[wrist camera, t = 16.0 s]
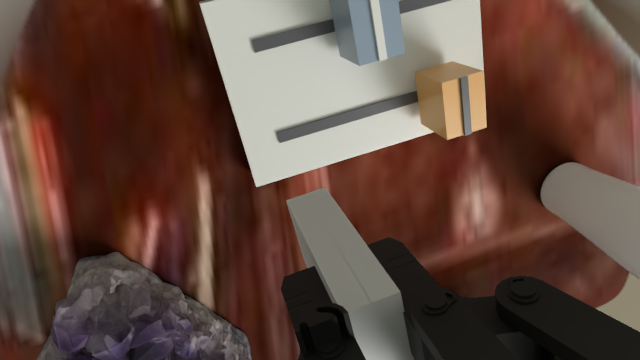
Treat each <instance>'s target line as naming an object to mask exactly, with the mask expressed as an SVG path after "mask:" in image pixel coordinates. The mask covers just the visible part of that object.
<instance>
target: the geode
mask: <svg viewBox="0 0 640 360" xmlns="http://www.w3.org/2000/svg"><path fill="white" fill-rule="evenodd" d="M37 360H252V357H251V353H250V346H249V343H248V339H247V336H246V334H245V333H244V332H242V331H241V330H239V329H237V328H235V327H234V326H233V325H232V324H231V323H229V322H227V321H226V320H224V319H223V318H221V317H219V316H218V315H216V314H214V313H213V312H211V311H210V310H208V309H207V308H206V307H205V305H204V304H201V303H199V302H197V301H196V300H194V299H192V298H191V297H189V296H186V295H183V293H182V290H181V289H180V288H179V287H177V286H174V285H171V284H168V283H165V282H162V280H161V279H160V278H159V277H158V276H157V275H155V274H154V273H152V272H151V271H149V270H148V269H146V268H144V267H143V266H141V265H139V264H138V263H135V262H132V261H129V260H128V259H127V258H125V257H124V256H123V255H121V254H120V253H119V252H112V253H109V254H107V255H94V256H87V257H84V258H82V259H80V260H79V261H78V263H77V265H76V267H75V271H74V274H73V277H72V279H71V285H70V287H69V289H68V293H67V298H65V299H62V300H59V301H57V303H56V306H55V315H54V316H53V321H52V326H51V331H50V335H49V337H48V338H47V340H46V341H45V343H44V345H43V348H42V350H41V352H40V354H39V356H38V358H37Z"/></svg>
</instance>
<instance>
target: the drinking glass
mask: <svg viewBox="0 0 640 360" xmlns="http://www.w3.org/2000/svg"><path fill="white" fill-rule="evenodd" d="M540 195H541V201H542V203H543V205H544V206H545V208H546V209H548V210H549V211H550V212H552V213H553V214H555V215H556V216H558V217H560V218H561V219H562V220H563V221H565V222H566V223H567V224H569V225H570V226H571V227H573V228H574V229H575V230H576V231H578V232H579V233H580V234H581V235H583V236H584V237H585V238H587V239H588V240H589V241H590V242H592V243H593V244H594V245H595V246H597V247H598V248H599V249H600V250H602V251H603V252H604V253H605V254H607V255H608V256H609V257H610V258H612V259H613V260H614V261H615V262H617V263H618V264H619V265H621V266H622V267H623V268H624V269H626V270H627V271H628V272H630V273H631V274H632V275H634V276H635V277H637V278H638V279H640V186H638V185H635V184H632V183H629V182H626V181H624V180H621V179H618V178H615V177H612V176H610V175H607V174H604V173H601V172H598V171H596V170H593V169H591V168H589V167H587V166H585V165H582V164H580V163H575V162H569V163H564V164H561V165H559V166H558V167H556V168H555V169H553V170H552V171H551V172H550V173H549V174H548V175H547V177H546V178H545V180H544V182H543V184H542V187H541V194H540Z"/></svg>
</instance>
